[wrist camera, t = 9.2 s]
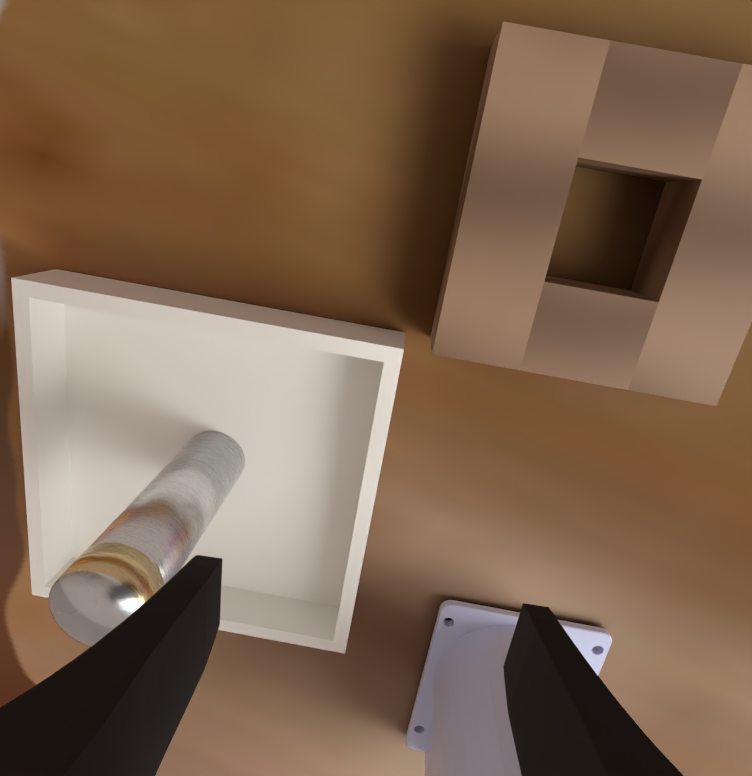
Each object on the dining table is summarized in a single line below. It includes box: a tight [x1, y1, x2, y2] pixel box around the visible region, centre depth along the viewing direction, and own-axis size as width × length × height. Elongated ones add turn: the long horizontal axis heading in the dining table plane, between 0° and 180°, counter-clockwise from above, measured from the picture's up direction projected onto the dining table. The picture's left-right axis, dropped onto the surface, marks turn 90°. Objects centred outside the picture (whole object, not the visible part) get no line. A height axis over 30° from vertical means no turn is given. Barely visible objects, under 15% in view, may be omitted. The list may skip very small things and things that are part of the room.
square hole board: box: [430, 22, 752, 406], centre depth 18 cm, size 10×10×2 cm
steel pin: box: [49, 431, 245, 647], centre depth 19 cm, size 3×3×9 cm
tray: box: [11, 269, 405, 654], centre depth 22 cm, size 14×14×2 cm
